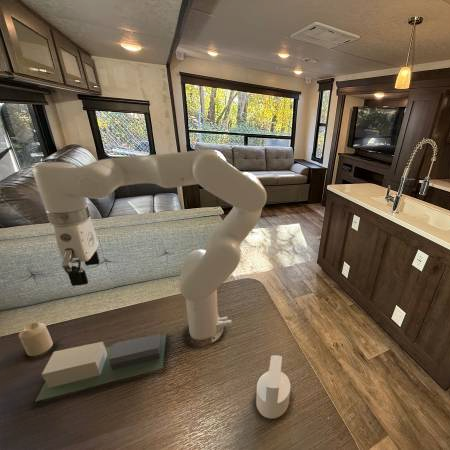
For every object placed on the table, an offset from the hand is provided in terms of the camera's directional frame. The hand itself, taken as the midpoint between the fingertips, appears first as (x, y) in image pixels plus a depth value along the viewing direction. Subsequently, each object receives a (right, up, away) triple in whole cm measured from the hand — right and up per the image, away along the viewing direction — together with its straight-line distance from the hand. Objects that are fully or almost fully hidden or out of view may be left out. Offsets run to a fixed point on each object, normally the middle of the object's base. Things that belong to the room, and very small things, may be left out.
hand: (87, 273), depth 67 cm
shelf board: (+2, -29, +6) cm, 29 cm away
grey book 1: (+9, -25, +7) cm, 27 cm away
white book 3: (-4, -28, +3) cm, 28 cm away
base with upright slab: (+50, -35, +1) cm, 61 cm away
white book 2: (-4, -26, +2) cm, 26 cm away
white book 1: (-4, -24, +1) cm, 25 cm away
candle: (-21, -25, +8) cm, 34 cm away
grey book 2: (+9, -27, +8) cm, 29 cm away
